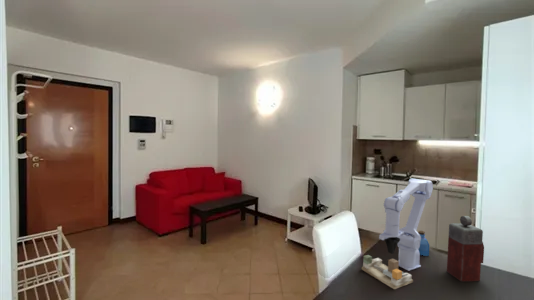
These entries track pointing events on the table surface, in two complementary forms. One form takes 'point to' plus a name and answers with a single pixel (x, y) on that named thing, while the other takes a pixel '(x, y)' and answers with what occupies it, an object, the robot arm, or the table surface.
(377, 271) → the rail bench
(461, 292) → the table surface
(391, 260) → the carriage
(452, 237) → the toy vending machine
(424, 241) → the perfume bottle
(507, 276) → the table surface
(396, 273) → the orange cardboard cube
